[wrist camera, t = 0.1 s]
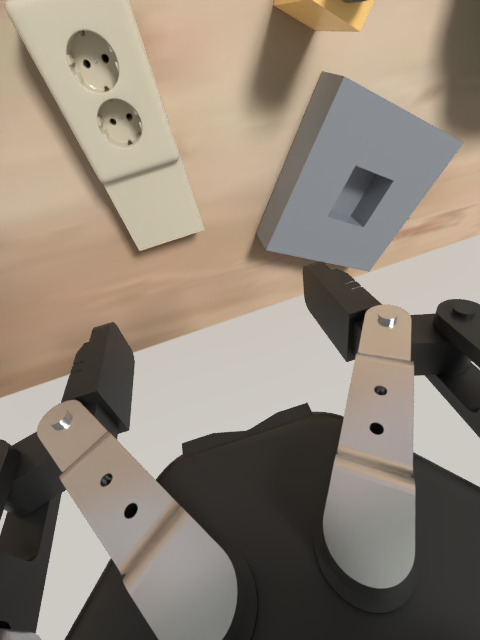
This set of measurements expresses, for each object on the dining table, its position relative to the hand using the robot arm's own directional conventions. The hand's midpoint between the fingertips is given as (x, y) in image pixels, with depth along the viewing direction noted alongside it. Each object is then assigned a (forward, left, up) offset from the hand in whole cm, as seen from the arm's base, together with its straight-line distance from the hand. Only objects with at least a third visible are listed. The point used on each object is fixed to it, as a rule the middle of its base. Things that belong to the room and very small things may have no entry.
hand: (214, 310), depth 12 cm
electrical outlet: (0, -3, -23) cm, 23 cm away
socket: (-2, +19, -22) cm, 30 cm away
